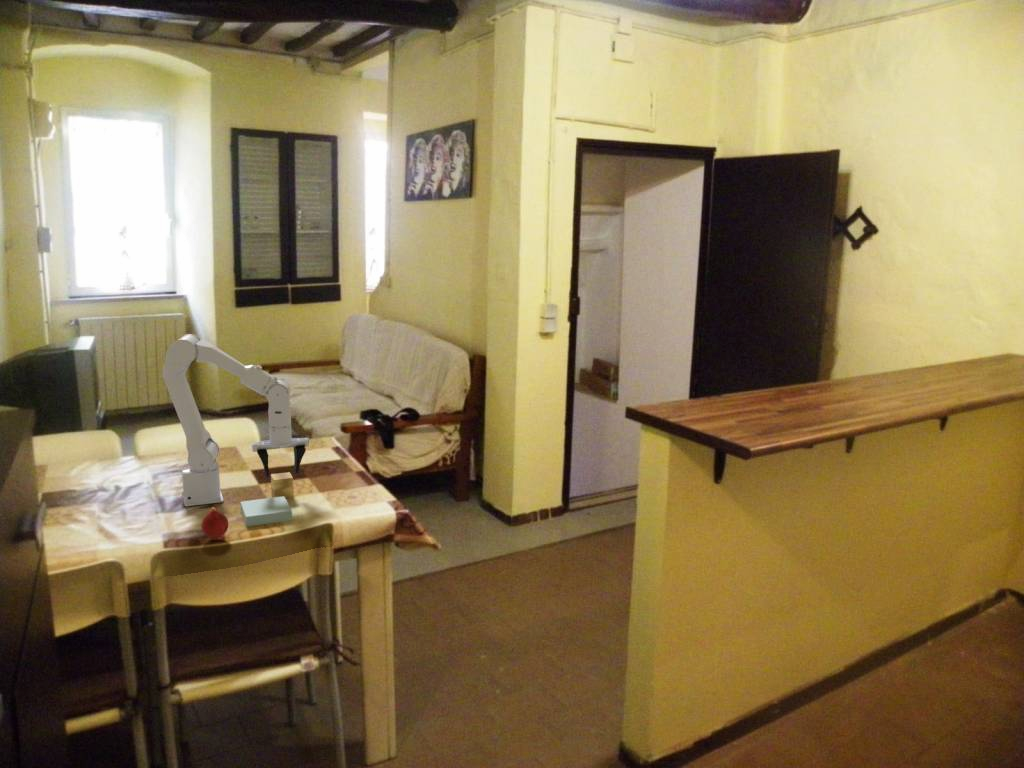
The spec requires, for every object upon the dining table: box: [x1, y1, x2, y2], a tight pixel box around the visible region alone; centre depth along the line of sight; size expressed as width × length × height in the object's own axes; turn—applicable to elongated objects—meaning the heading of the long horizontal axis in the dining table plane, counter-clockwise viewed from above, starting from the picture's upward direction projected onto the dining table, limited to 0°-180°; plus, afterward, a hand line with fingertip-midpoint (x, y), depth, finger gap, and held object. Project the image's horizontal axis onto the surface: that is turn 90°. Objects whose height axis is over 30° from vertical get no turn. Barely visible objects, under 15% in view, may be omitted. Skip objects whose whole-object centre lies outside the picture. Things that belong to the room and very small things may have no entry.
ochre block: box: [270, 471, 294, 500], centre depth 210 cm, size 5×5×6 cm
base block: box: [240, 496, 293, 527], centre depth 197 cm, size 11×11×3 cm
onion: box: [201, 506, 229, 541], centre depth 181 cm, size 6×6×8 cm
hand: (282, 473), depth 209 cm, fingers open, 7 cm apart
